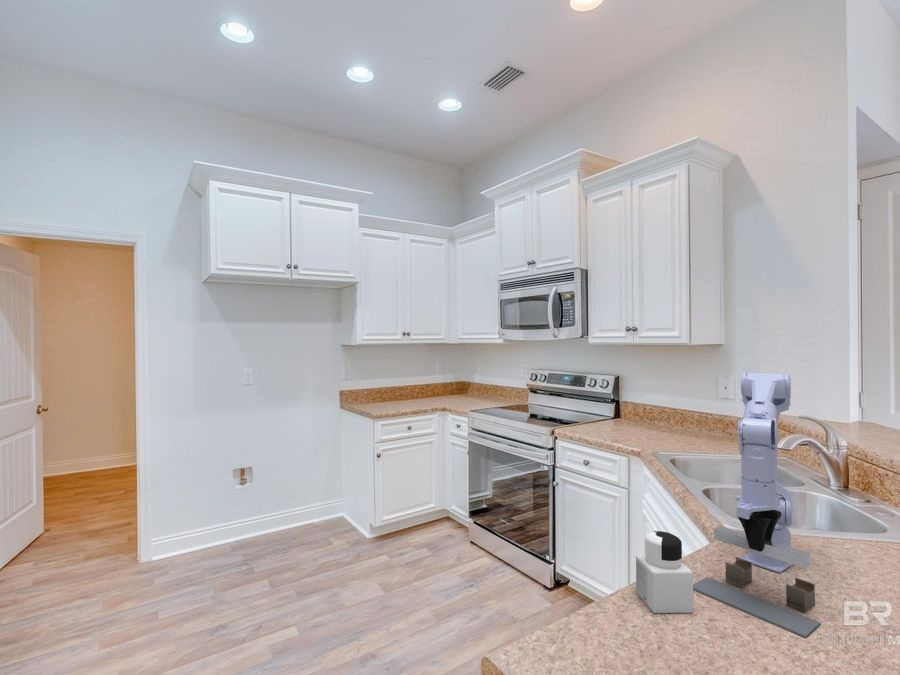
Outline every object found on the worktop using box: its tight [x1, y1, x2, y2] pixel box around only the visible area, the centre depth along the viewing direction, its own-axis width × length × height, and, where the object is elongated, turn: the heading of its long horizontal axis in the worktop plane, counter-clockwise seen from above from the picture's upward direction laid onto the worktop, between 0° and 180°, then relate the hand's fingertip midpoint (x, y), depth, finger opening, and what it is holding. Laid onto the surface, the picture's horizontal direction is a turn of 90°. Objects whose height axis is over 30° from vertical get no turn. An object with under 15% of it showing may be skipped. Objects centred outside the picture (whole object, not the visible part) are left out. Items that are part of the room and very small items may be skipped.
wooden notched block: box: [725, 556, 753, 589], centre depth 98 cm, size 5×3×4 cm, turn 124°
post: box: [785, 577, 816, 614], centre depth 89 cm, size 5×3×4 cm, turn 124°
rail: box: [713, 525, 811, 569], centre depth 91 cm, size 2×16×2 cm, turn 35°
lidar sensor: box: [635, 530, 694, 614], centre depth 90 cm, size 8×8×13 cm
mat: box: [693, 576, 822, 639], centre depth 89 cm, size 7×20×1 cm, turn 34°
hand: (759, 547), depth 91 cm, fingers closed on rail, 2 cm apart
